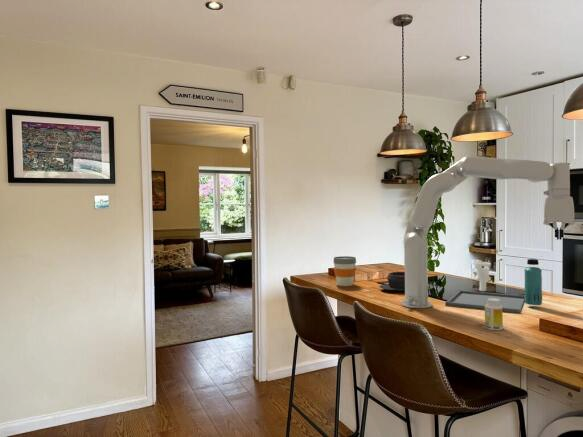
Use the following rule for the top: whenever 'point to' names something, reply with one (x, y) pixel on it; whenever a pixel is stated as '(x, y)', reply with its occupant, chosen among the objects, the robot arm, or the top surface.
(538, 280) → the beverage bottle
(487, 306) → the supplement bottle
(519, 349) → the top surface
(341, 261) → the reusable coffee cup
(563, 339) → the top surface
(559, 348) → the top surface
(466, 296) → the grey square tray
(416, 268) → the robot arm
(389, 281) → the cup and saucer
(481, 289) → the white tall piece
